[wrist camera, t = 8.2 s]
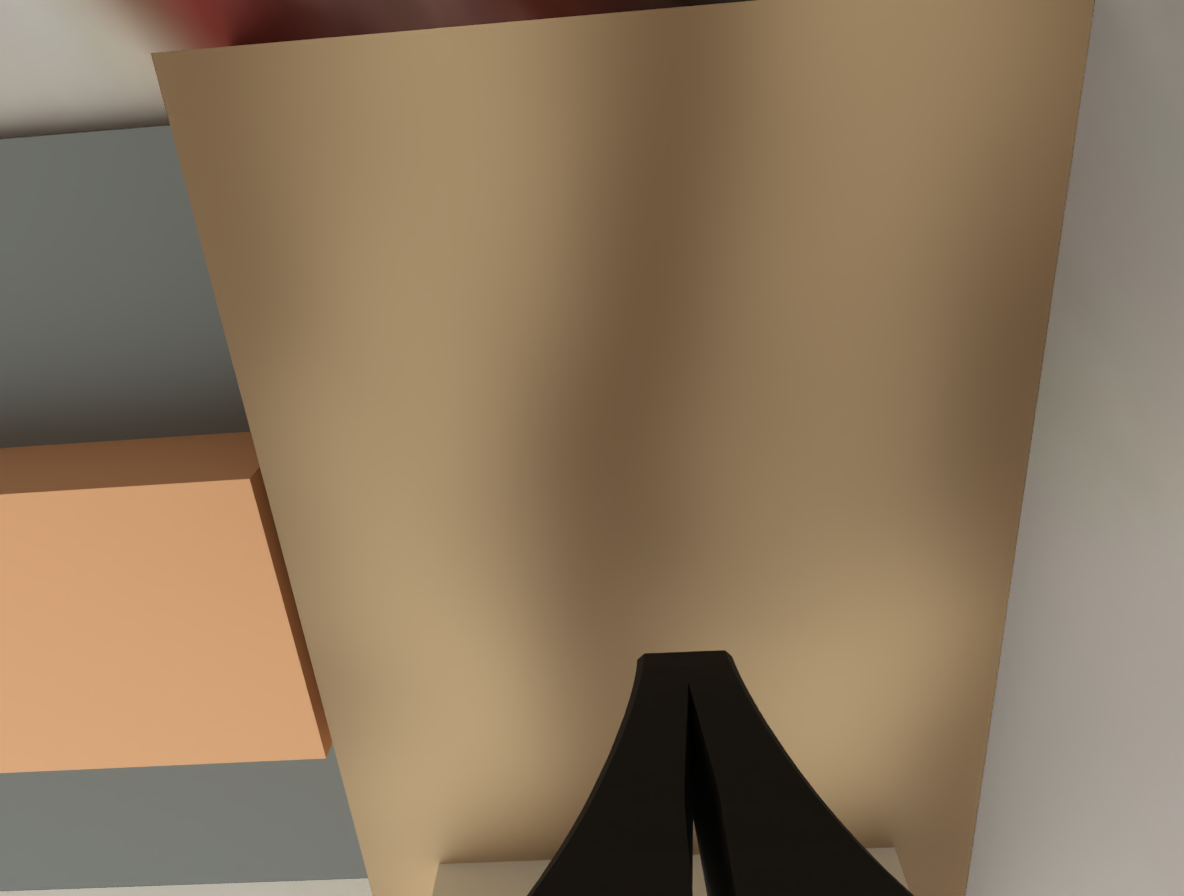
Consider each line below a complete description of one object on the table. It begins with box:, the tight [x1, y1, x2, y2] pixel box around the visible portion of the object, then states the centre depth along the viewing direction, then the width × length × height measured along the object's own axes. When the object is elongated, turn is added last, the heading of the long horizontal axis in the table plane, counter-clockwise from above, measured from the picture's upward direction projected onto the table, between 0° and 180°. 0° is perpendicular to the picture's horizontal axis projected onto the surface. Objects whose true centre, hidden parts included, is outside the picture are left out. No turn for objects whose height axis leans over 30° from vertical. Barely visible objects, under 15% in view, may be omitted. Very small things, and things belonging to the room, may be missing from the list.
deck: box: [151, 0, 1095, 896], centre depth 17 cm, size 12×22×2 cm, turn 4°
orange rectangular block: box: [0, 432, 332, 773], centre depth 17 cm, size 9×6×2 cm, turn 95°
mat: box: [0, 125, 368, 891], centre depth 18 cm, size 12×17×1 cm
